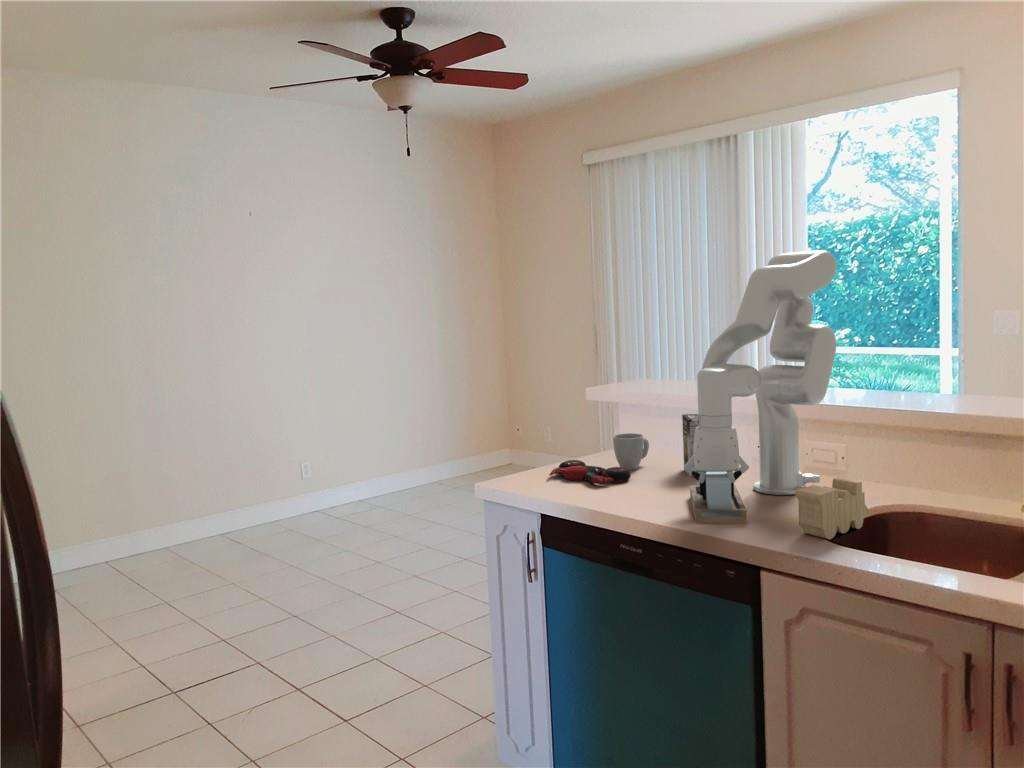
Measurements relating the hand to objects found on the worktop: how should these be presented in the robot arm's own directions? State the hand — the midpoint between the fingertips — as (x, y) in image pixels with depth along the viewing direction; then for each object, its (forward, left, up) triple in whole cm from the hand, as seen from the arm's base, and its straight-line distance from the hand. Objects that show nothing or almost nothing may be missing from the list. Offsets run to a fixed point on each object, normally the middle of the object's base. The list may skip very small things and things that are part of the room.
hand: (716, 497), depth 183 cm
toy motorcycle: (+33, -33, -3) cm, 47 cm away
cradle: (0, 0, -3) cm, 3 cm away
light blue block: (0, 0, 0) cm, 0 cm away
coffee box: (+2, -38, -3) cm, 39 cm away
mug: (+20, -46, -3) cm, 51 cm away
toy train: (-22, +17, -3) cm, 28 cm away
